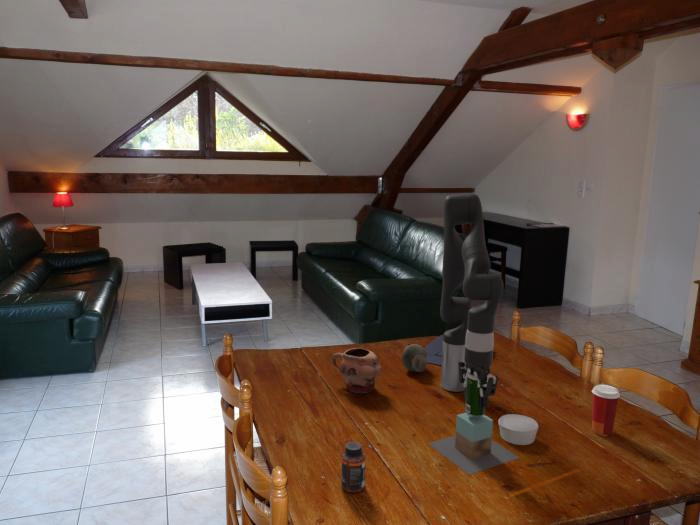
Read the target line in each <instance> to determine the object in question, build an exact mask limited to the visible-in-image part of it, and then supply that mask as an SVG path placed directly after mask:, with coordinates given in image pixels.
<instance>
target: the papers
mask: <svg viewBox="0 0 700 525" xmlns="http://www.w3.org/2000/svg"><path fill="white" fill-rule="evenodd" d="M423 348H424V349H425V350H426V353H427V357H426V363H428V364H432V365H433V364H434V365H438V366H442V352H443V334H440V335H439V336H438V337H436V338H434V339H433V340H431V342H429V343H428V344H427V345H426V346H425V347H423Z"/></svg>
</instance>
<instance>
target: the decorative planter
mask: <svg viewBox="0 0 700 525" xmlns="http://www.w3.org/2000/svg"><path fill="white" fill-rule="evenodd" d="M337 359H340V360H341V362H340V364H339V366H338V364H337V363H336V361H337ZM331 361H332V362H331V363H332V364H333V367H335V368H336V369H337V370H338V371H339V372H340V375H341V376H342V379H343V381H344V383H345V387H346V390H348V391H349V392H352V393H356V394H369V393H371V392H373V391H374V389H375V386H376V381H375V379H376V378H377V377H378V376H380V375H382V373H383V368H382V367H381V364H380V361H379V358H378V356H377V355H376V353H374V352H373V351H371V350H368V349H366V348H361V347H356V348H355V347H353V348H349V349H347V350H345V351H344V352H343V353H342V352H336V353H334V354H333V355H332V357H331Z"/></svg>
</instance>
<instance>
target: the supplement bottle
mask: <svg viewBox="0 0 700 525" xmlns="http://www.w3.org/2000/svg"><path fill="white" fill-rule="evenodd" d="M362 447H363V445H362V444H361V443H359V442H356V441H351V442H348V443H346V444H345V450H344V452H342V455H341V487H342V490H344V491H345V492H348V493H351V494H353V493H354V494H355V493H359V492H362V491H363V490H364V489H365V487H366V454H365V452H364V451H363V448H362Z"/></svg>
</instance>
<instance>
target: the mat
mask: <svg viewBox="0 0 700 525" xmlns="http://www.w3.org/2000/svg"><path fill="white" fill-rule="evenodd" d="M455 439H456V434H455V435H451V436H448V437H445V438H441V439H438V440H435V441H432V442H428V443H427V445H429V446H430V447H432V448H433V449H434V450H436V452H438V453H439V454H441V455H442V456H443V457H445V458H447V459H448V460H449V461H450V462H451V463H453V464H454V465H455V466H456V467H458V468H460V469H461V470H462V471H463V472H464V473H466V474H467V475H473V474H476V473H479V472H482V471H485V470H488V469H490V468H495V467H497V466H500V465H503V464H505V463H509V462H512V461H515V460H518V459H520V457H519V456H518V455H516V454H515V453H513V452H512V451H510V449H509V450H508V449H507V448H505V447H504V446H503V445H502V444H499V443H498V442H496V441H494V440H493V439H492V443H491V453H490V454H487V455H484V456H480V457H477V458H474V459H470V458H469V457H467V456H466V455H465V454H463V453H462V452H460V451H459V450H458V449H456V448H455Z"/></svg>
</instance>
